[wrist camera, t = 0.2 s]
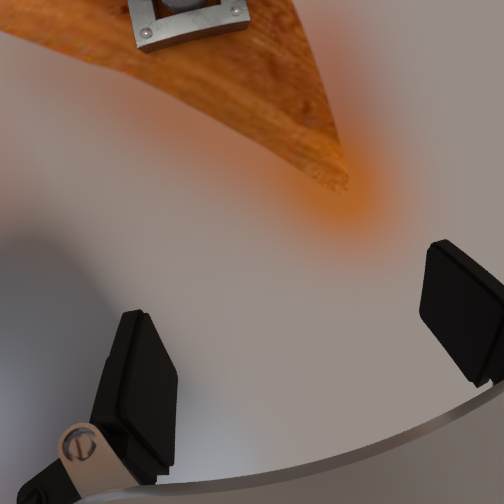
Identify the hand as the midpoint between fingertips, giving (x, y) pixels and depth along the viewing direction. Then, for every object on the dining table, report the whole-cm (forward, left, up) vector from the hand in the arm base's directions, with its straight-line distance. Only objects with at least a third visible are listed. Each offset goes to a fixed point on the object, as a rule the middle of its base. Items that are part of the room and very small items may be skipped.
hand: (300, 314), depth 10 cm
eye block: (-14, -16, -31) cm, 37 cm away
